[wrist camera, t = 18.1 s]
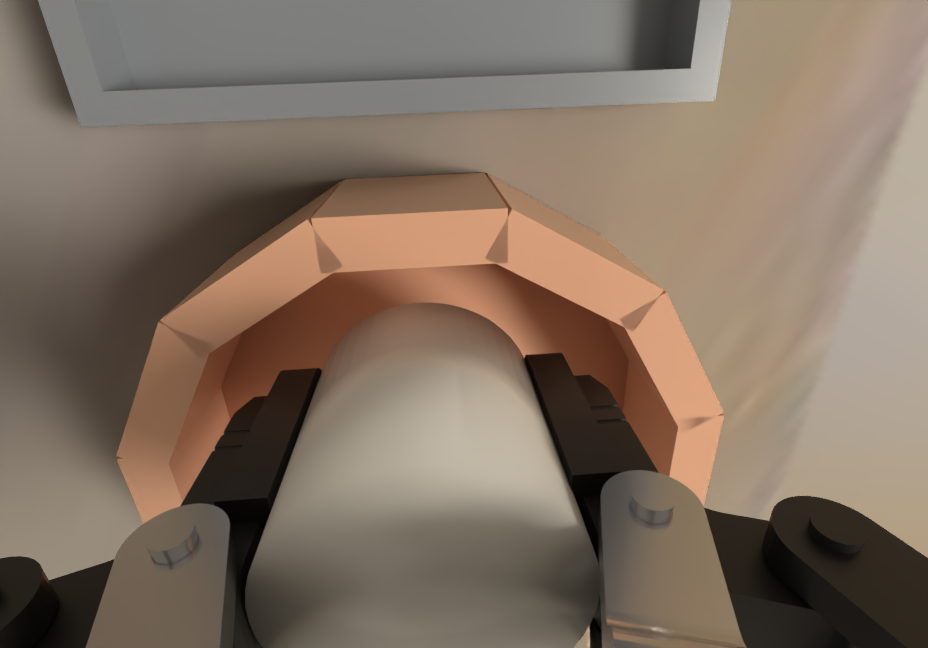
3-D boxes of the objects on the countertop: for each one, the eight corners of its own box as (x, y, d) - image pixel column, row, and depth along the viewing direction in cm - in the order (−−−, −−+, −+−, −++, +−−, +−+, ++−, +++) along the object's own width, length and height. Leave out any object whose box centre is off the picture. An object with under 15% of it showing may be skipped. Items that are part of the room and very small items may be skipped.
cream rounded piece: (301, 309, 9) (203, 486, 5) (535, 296, 10) (617, 456, 5) (334, 488, 11) (282, 722, 7) (529, 474, 12) (587, 693, 7)
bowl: (142, 188, 12) (21, 233, 8) (674, 163, 13) (774, 194, 9) (257, 567, 18) (214, 691, 14) (623, 536, 18) (671, 648, 15)
